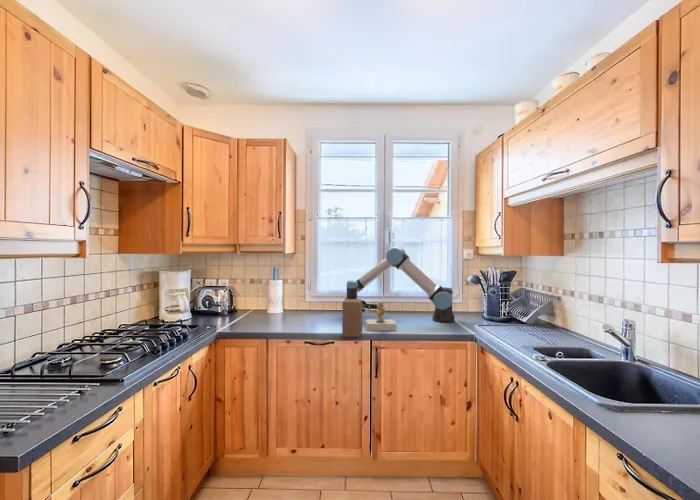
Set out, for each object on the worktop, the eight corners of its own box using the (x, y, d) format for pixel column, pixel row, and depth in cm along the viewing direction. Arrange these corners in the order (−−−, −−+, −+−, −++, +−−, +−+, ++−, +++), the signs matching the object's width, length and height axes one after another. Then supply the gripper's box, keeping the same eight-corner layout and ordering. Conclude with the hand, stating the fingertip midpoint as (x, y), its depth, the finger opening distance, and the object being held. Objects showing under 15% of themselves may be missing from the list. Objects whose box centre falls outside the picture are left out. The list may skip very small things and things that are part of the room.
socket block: (393, 325, 236) (393, 319, 236) (396, 330, 223) (396, 324, 223) (365, 325, 235) (365, 319, 235) (366, 330, 222) (366, 323, 222)
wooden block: (359, 337, 206) (359, 302, 205) (342, 336, 208) (342, 301, 207) (362, 333, 216) (362, 299, 215) (345, 332, 218) (346, 299, 217)
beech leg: (383, 327, 231) (383, 302, 231) (384, 328, 227) (384, 303, 226) (376, 327, 231) (376, 302, 231) (377, 328, 227) (377, 303, 226)
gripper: (374, 308, 256) (392, 314, 238) (343, 312, 243) (360, 318, 225) (374, 298, 256) (392, 302, 238) (343, 301, 243) (360, 306, 225)
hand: (377, 310), depth 231 cm, fingers open, 13 cm apart
